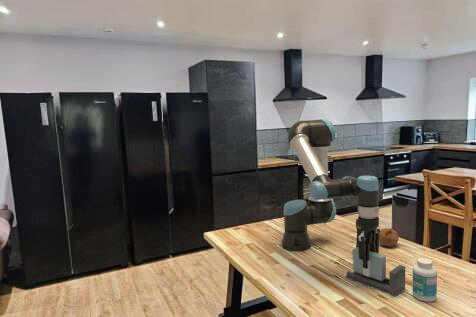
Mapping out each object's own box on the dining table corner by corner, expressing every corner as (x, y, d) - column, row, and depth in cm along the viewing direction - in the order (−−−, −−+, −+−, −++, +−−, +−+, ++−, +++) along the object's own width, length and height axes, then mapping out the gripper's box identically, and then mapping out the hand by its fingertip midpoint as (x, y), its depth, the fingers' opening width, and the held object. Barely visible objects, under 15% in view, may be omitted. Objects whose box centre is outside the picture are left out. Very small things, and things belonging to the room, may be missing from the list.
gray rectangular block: (353, 270, 129) (352, 249, 128) (357, 268, 131) (357, 247, 130) (381, 281, 120) (381, 258, 119) (386, 278, 122) (385, 255, 121)
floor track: (345, 277, 129) (345, 257, 128) (356, 271, 134) (356, 251, 133) (395, 296, 114) (394, 273, 113) (405, 288, 119) (405, 266, 118)
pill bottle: (408, 292, 116) (407, 257, 114) (427, 290, 116) (427, 255, 115) (421, 303, 108) (421, 266, 107) (441, 301, 109) (442, 264, 108)
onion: (391, 254, 155) (393, 240, 150) (373, 244, 162) (374, 230, 157) (401, 242, 160) (403, 228, 155) (383, 234, 166) (384, 220, 161)
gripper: (366, 222, 115) (367, 284, 117) (388, 213, 125) (388, 270, 127) (347, 218, 121) (349, 277, 123) (370, 209, 131) (371, 264, 133)
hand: (369, 273), depth 125 cm, fingers closed on gray rectangular block, 3 cm apart
